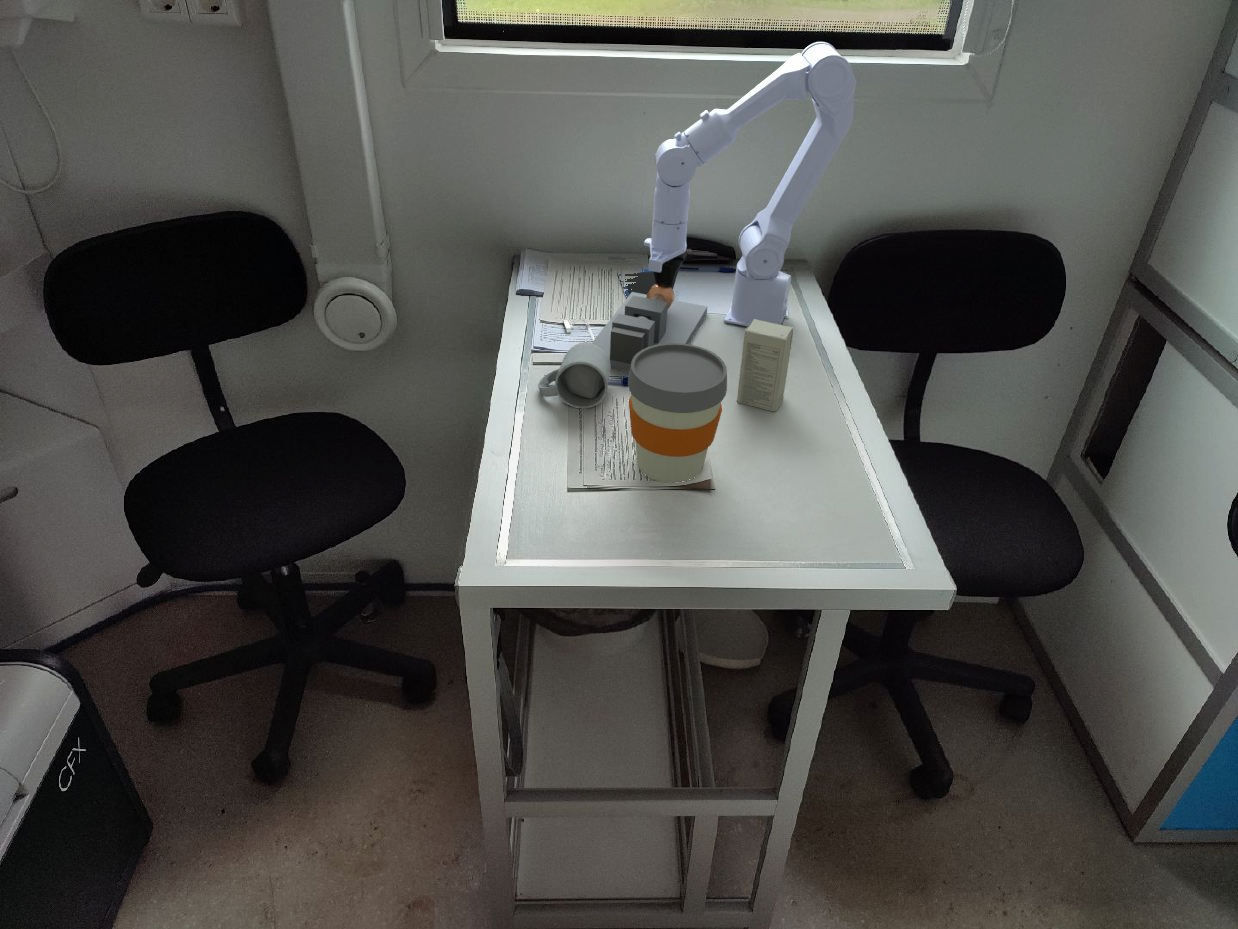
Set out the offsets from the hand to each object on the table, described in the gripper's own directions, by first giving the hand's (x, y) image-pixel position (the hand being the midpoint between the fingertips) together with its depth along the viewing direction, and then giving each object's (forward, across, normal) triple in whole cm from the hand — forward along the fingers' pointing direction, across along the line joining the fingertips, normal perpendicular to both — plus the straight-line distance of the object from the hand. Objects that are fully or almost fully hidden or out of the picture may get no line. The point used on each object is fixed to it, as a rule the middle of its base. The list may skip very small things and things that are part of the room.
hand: (664, 294), depth 148 cm
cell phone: (+4, -9, -7) cm, 12 cm away
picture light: (+5, +10, -12) cm, 16 cm away
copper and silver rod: (+2, +8, 0) cm, 8 cm away
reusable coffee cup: (+4, +40, +14) cm, 43 cm away
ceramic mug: (+4, +30, -4) cm, 30 cm away
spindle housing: (+4, +8, 0) cm, 9 cm away
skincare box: (+4, +20, +22) cm, 30 cm away
